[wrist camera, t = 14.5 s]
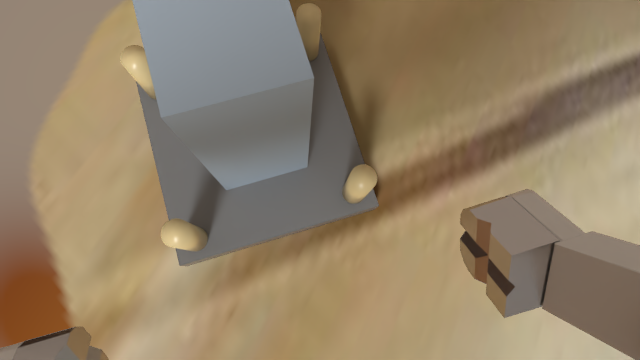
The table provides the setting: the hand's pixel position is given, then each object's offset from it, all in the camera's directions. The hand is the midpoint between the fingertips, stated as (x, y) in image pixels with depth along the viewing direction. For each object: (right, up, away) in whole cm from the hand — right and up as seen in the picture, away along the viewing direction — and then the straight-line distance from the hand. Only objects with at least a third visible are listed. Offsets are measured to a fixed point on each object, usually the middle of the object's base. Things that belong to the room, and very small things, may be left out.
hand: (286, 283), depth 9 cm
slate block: (-3, +5, +17) cm, 18 cm away
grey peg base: (-3, +4, +18) cm, 19 cm away
